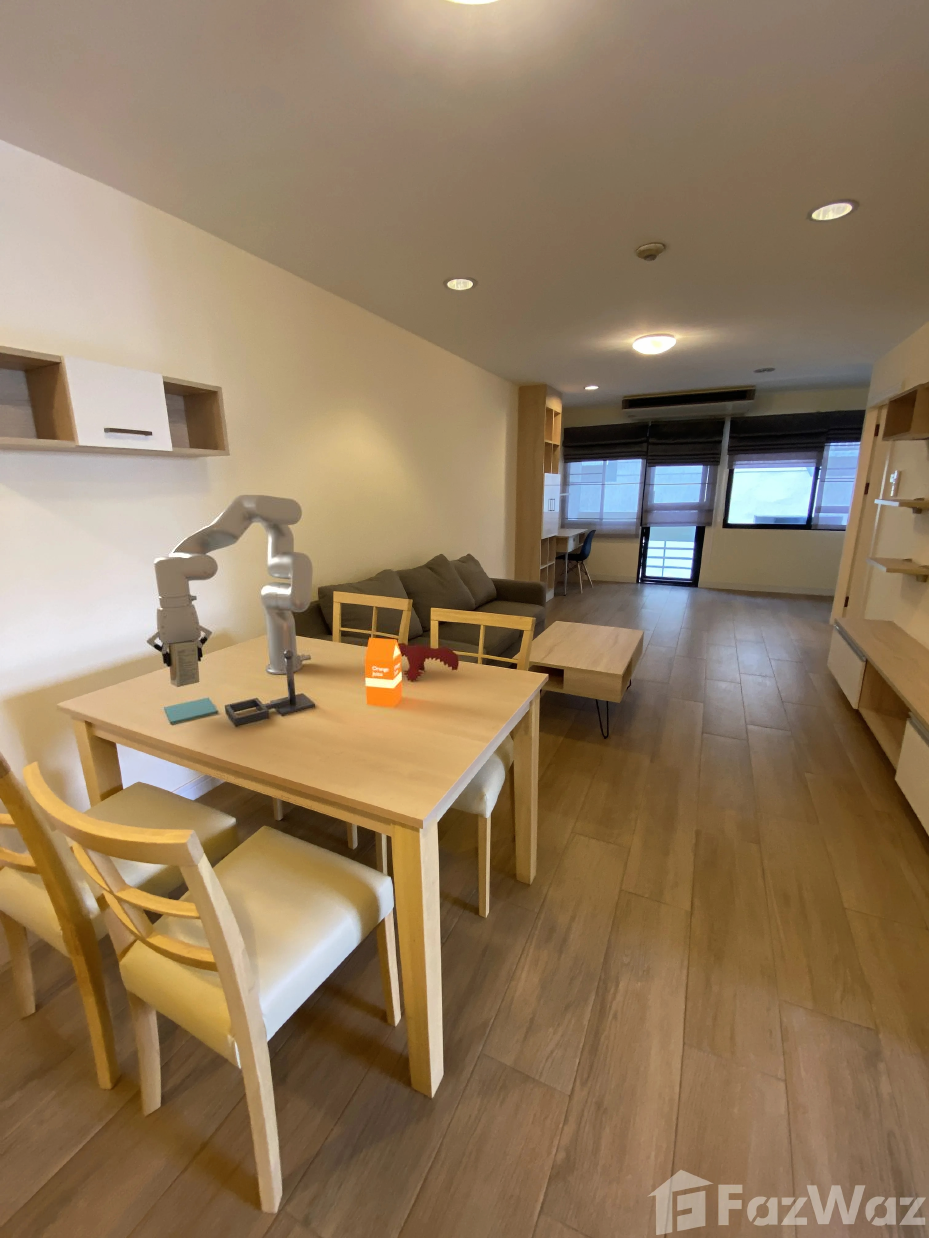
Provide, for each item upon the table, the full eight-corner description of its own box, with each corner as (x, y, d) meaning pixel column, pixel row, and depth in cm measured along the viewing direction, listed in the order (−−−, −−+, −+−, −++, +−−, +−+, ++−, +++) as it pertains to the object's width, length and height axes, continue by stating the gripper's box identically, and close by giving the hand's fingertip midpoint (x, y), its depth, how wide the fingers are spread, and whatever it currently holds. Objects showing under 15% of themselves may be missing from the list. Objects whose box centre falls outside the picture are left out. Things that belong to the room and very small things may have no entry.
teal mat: (208, 699, 154) (208, 697, 154) (218, 713, 145) (217, 710, 145) (164, 709, 147) (163, 707, 147) (170, 724, 138) (170, 721, 137)
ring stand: (302, 696, 157) (298, 642, 153) (315, 707, 149) (311, 651, 144) (225, 714, 144) (218, 656, 139) (235, 728, 135) (228, 667, 131)
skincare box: (192, 679, 146) (190, 638, 144) (199, 682, 144) (198, 641, 142) (169, 684, 141) (167, 642, 139) (176, 687, 139) (174, 644, 136)
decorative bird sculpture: (455, 693, 171) (463, 653, 178) (448, 683, 164) (458, 642, 170) (380, 684, 179) (391, 646, 186) (370, 673, 171) (382, 635, 178)
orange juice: (394, 707, 150) (392, 643, 145) (366, 704, 152) (363, 641, 147) (402, 696, 157) (400, 636, 152) (375, 694, 159) (373, 634, 154)
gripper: (207, 596, 146) (214, 654, 150) (136, 603, 135) (146, 665, 140) (213, 600, 140) (220, 660, 144) (140, 608, 130) (149, 672, 134)
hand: (183, 662), depth 142 cm, fingers closed on skincare box, 7 cm apart
